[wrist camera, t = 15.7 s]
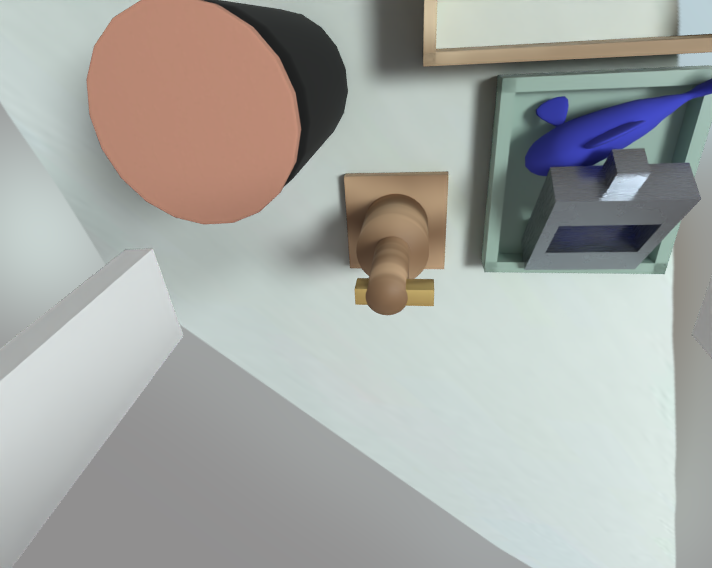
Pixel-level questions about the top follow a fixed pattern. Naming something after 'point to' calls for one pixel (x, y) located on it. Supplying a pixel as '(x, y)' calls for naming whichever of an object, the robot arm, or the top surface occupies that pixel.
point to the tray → (586, 95)
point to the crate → (553, 47)
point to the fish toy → (599, 129)
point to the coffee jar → (213, 103)
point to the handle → (396, 236)
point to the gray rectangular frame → (606, 212)
